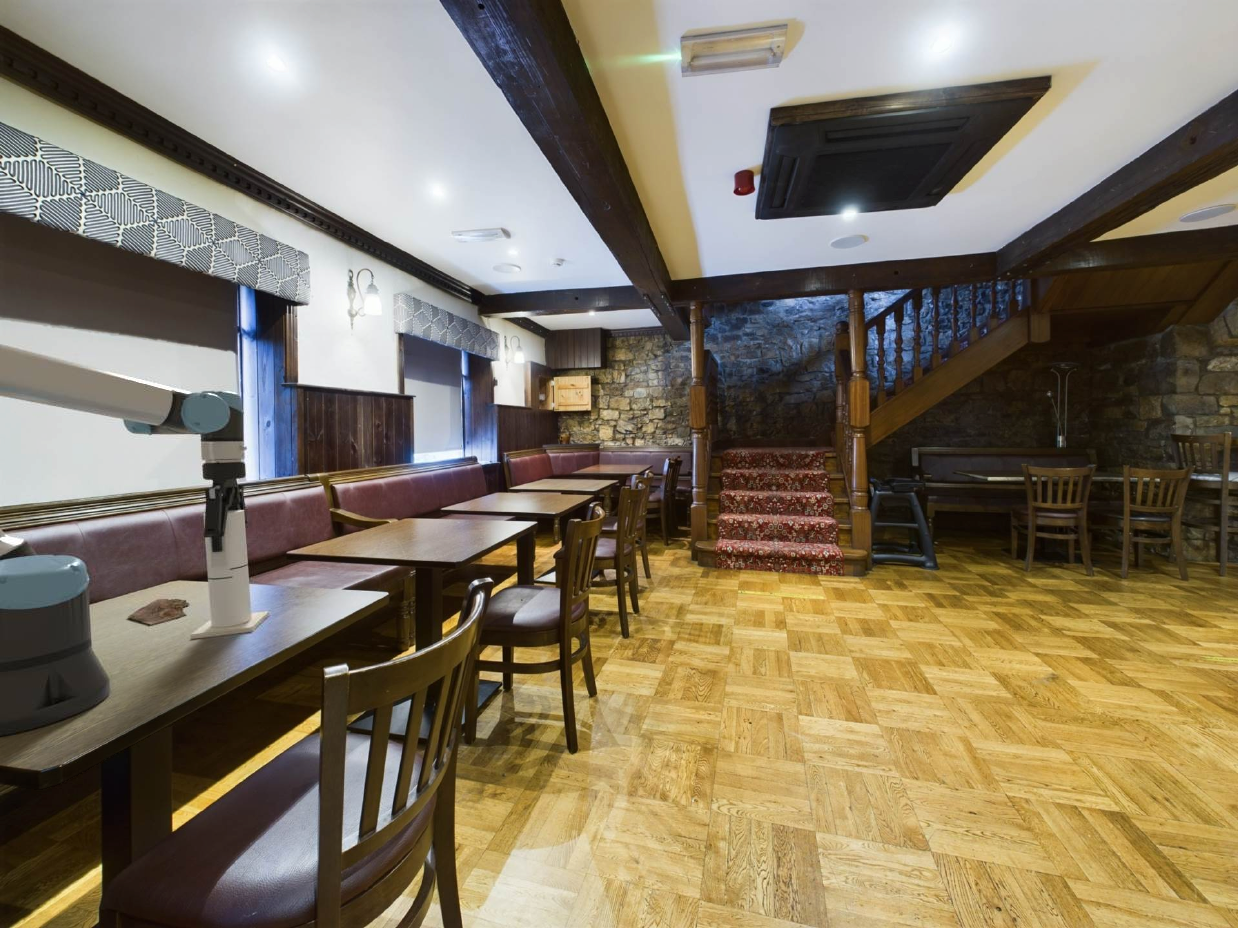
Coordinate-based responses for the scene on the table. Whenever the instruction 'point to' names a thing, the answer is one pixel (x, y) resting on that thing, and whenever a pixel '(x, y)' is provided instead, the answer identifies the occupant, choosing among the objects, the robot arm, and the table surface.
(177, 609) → the brown relief tablet
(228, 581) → the cylindrical container
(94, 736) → the table surface
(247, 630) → the ceramic tile
